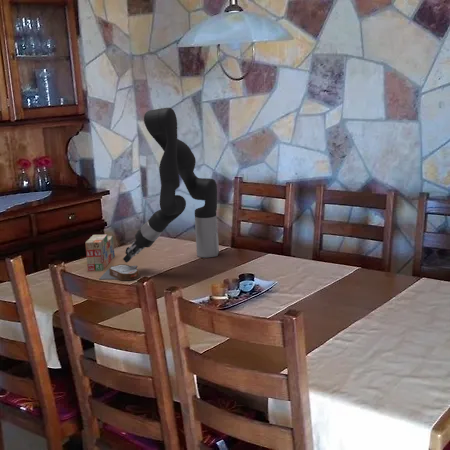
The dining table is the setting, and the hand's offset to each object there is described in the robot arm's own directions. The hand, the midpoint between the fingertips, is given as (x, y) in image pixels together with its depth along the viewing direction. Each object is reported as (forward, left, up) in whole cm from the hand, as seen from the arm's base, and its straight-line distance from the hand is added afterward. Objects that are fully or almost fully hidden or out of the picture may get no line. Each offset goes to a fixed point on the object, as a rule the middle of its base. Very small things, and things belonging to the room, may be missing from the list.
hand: (125, 260), depth 253 cm
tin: (-4, +3, -2) cm, 6 cm away
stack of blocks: (+14, -11, -5) cm, 18 cm away
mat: (+3, +2, -4) cm, 6 cm away
